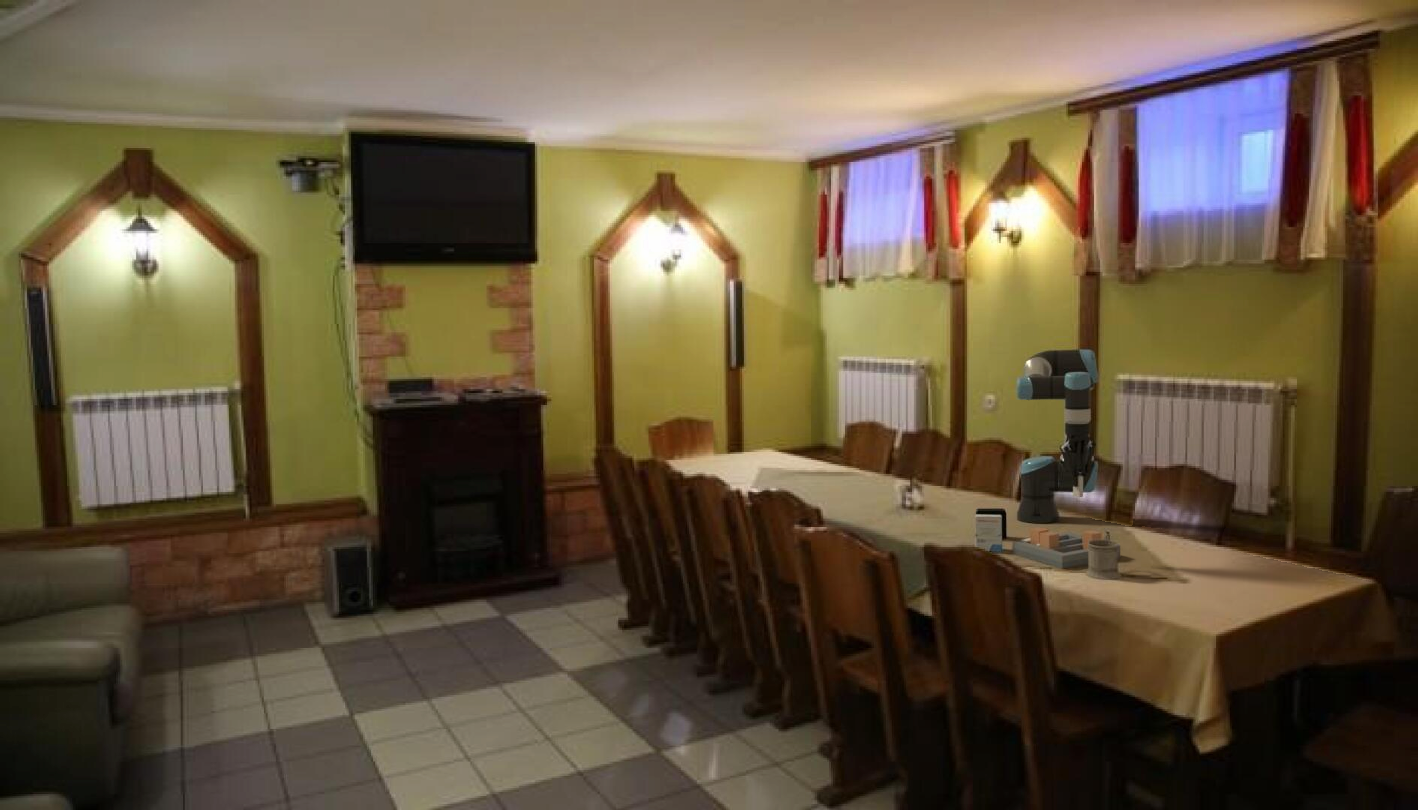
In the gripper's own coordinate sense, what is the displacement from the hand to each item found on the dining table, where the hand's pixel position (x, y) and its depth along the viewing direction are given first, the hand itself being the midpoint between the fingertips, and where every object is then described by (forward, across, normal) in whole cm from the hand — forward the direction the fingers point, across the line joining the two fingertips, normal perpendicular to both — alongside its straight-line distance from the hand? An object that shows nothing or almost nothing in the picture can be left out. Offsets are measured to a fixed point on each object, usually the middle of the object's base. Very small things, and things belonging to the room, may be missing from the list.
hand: (1078, 496), depth 310 cm
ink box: (+21, +15, -24) cm, 35 cm away
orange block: (+18, -5, +1) cm, 19 cm away
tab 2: (+18, +7, -5) cm, 20 cm away
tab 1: (+18, +5, -11) cm, 22 cm away
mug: (+20, +5, +16) cm, 26 cm away
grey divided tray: (+20, 0, -5) cm, 21 cm away
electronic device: (+21, +3, -37) cm, 43 cm away
